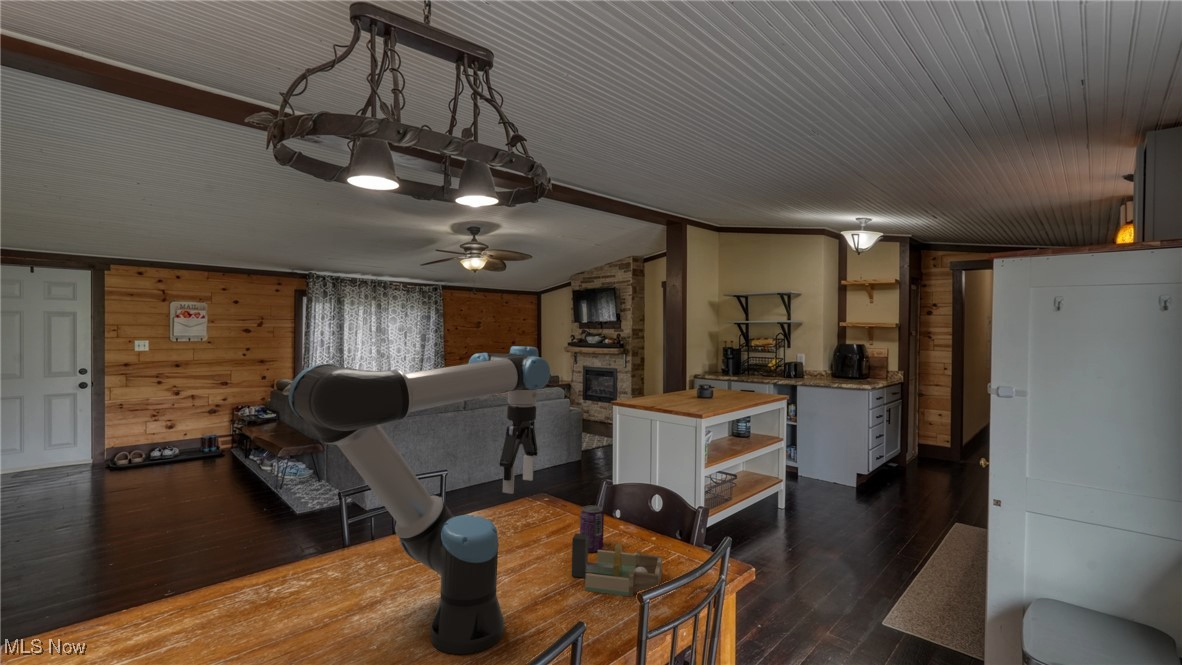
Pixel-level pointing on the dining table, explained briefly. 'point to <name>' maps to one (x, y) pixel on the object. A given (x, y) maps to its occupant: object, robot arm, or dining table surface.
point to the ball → (641, 569)
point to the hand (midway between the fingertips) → (518, 486)
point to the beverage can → (592, 526)
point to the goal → (642, 579)
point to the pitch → (610, 582)
